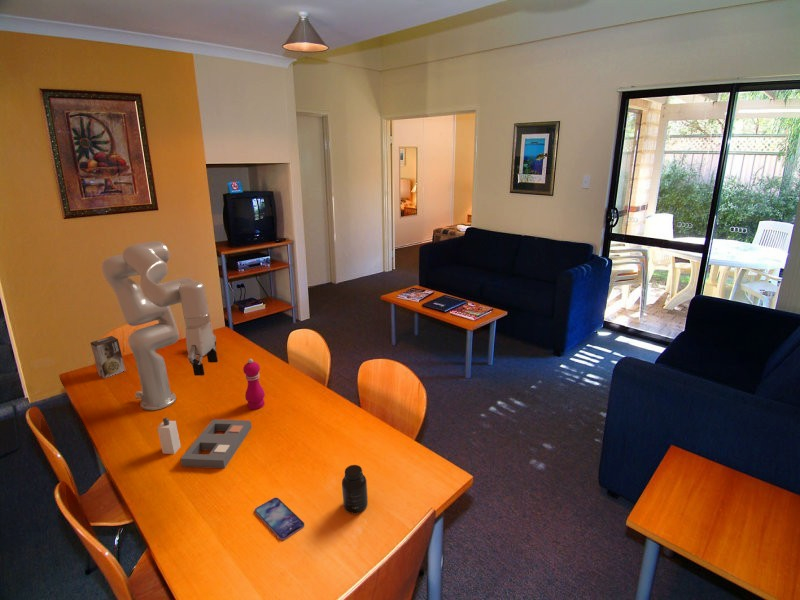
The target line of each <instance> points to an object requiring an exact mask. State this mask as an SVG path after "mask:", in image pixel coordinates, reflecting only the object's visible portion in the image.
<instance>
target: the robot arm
mask: <svg viewBox="0 0 800 600" xmlns="http://www.w3.org/2000/svg"><path fill="white" fill-rule="evenodd" d="M170 256H171V253H170V250H169V248H168V246H167V245H166V244H165V243H164V242H162V241H159V240H151V241H146V242H141V243H134V244H130V245H129V246H127V247H126V248H125V249H124V250H123V252H122V253H121V254H117V255H116V254H115V255H112V256H109V257H107V258H105V259H104V260H103V262H102V264H101V271H102V275H103V277H104V279H105V281H106V282H107V284H108V285H109V286H110V287H111V289H112V290H113V292H114V294H115V295H116V299H117V301H118V305H119V308H120V310H121V313H122V315H123V318H124V320H125V322H126V323H127V325H129V326H131V327H137V326H140V325H141V326H142V325H145V324H148V323H152V322H154V321H157V322H158V323H155V324H152V325H147V326H145V327H142V328H139V329H136V330H134V331H132V332H131V333H130V334H129V336H128V345H129V348H130V349H131V351H132V355H133V357H134V359H135V360H134V361H135V365H136V369H137V373H138V376H139V382H140V387H141V391H140V390H137V391H136V392H135V399H139V400H141V401H140V408H141V409H143V410H146V411H158V410H162V409H165V408H167V407H169V406H171V405H172V404H174V403H175V402H176V400H177V395H176V394H175V393H174V392H171V387H170V382H169V375H168V372H167V366H166V362H165V358H164V357H163V356H162V355H161V354H159V353H158V352H156V351H157V350H160V349H163V348H166V347H168V346H171V345H174V344H175V343H177V342H178V341H179V339H180V333H179V332H180V331H179V329H178V325H177V321H176V320H175V317H174V314H173V311H172V308H171V306H173V305H176V304H181V308H182V309H181V310H182V313H183V318H184V319H183V320H184V324H185V325H184V326H185V343H186V350H187V359H188V362H189V363H190V365H191V366H192V370H193V371H192V372H193V375H194V376H195V377H196V376H197V377H199V376H201V377H202V376H204V375H205V368H204V363H202V361H203V357H204V356H206V354H207V356H206V358H207V362H208V363H212V364H213V363H218V354H217V347H216V345H217V341H216V339H217V335H216V334H214V332H213V331H214V330H213V327H212V322H211V316H210V315H211V314H210V310H209V305H208V304H209V303H208V300H207V293H206V288H205V287H206V286H205V283H203V282H201V281H196V280H194V279H193V278H191V277H181V278H177V279H173V280H169V281H165V282H161V281H163V280H164V279H165V278H166V276H167V274H168V272H169V267H168V264H167V263H168V262H169V261H170V258H171V257H170ZM134 276H140V283H138V282H136V281H135V280H134V279H132V278H131V277H134ZM160 282H161V283H160ZM197 358H198V359H197Z"/></svg>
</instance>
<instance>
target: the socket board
mask: <svg viewBox="0 0 800 600" xmlns="http://www.w3.org/2000/svg"><path fill="white" fill-rule="evenodd" d="M251 430H252V422H251V420H245V419H244V420H242V419H217V418H216V419H214V418H213V419H212V420H211V421H210V422H209V423H208V424H207V426H206V427H205V428H204V429H203V431H202V432H201V433H200V434H199V436H198V437H197V438H196V439H195V440H194V442H193V443H192V444H191V446H189V448H188V449H187V450H186V451H185V453H184V454H183V455H182V456H181V458H180V462H181V467H187V468H188V467H189V468H208V469H209V468H210V469H211V468H212V469H225V468H226V467H227V466H228V464H229V463H230V461H231V460H232V458H233V457H234V455H235V454H236V452H237V451H238V449H240V448H239V447H240V446H241V445H242V443H243V442H244V440H245V438H246V437H247V435H248V434H249V432H250V431H251ZM216 432H224V433H216ZM201 451H210V452H209V453H208V454H205V453H204V454H201V453H200V452H201Z"/></svg>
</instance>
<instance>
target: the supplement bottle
mask: <svg viewBox="0 0 800 600" xmlns="http://www.w3.org/2000/svg"><path fill="white" fill-rule="evenodd" d="M341 488H342V489H341V490H342V503H343V508H344V510H345V511H346V512H348V513H350V514H359V513H360V514H361V513H362V512H364V511H365V510H366V509H367V507H368V504H369V503H368V501H369V499H368V483H367V478H366V476H365V475H364V473H363V468H362V467H361V465H357V464H351V465H348V466H347V467H346V468H345V469H344V476H343V478H342V479H341Z"/></svg>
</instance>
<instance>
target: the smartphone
mask: <svg viewBox="0 0 800 600" xmlns="http://www.w3.org/2000/svg"><path fill="white" fill-rule="evenodd" d="M254 513H255V515H257V517H258V518H259V519H260V520H261V521H262V522H263V523H264V524H265V525H266V526H267V528H269V530H270V531H271V532H273V534H274V535H275V536H276V537H277V538H278V539H279V540H280V541H285V540H287V539H290V538H291V536H293V535H295V534H296V533H298V532H299V531H301V530H302V529H304V528H305V524H306V523H305V522H304V521H303V520H302V518H300V517H299V516H298V515H297V514H296V513H295V512H293V510H292V509H290V508H289V507H288V506H287V505H286V504H285V503H284V502H283V501H282V500H281V499H280V498H279V497H273V498H271V499H269V500H268V501H265V502H264V503H262V504H260V505H259V506H257V507H256V508H255V509H254Z"/></svg>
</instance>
